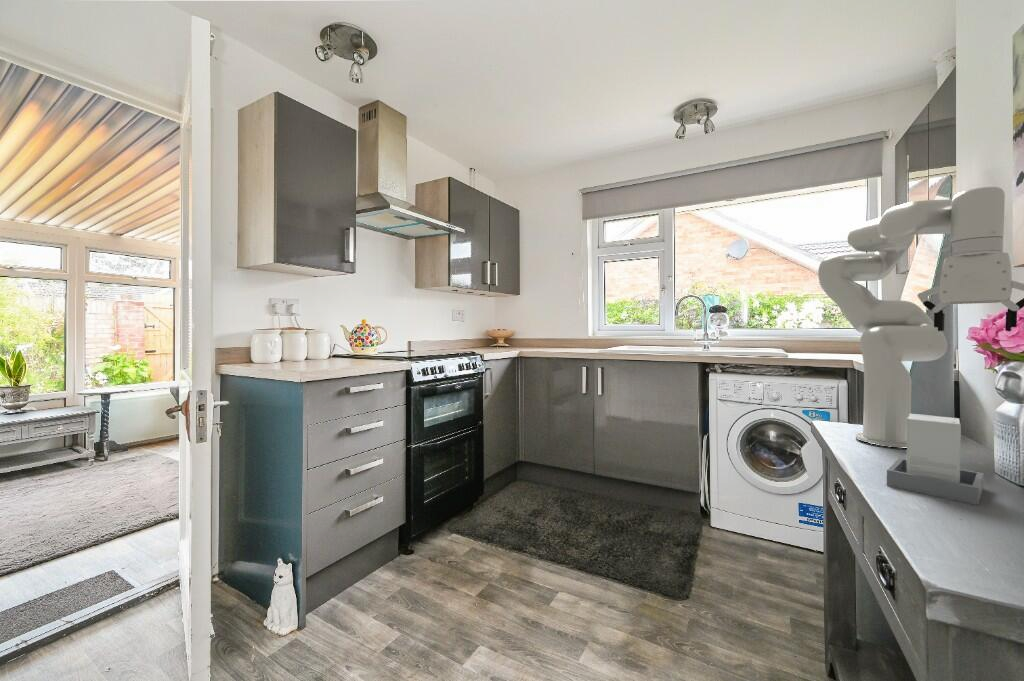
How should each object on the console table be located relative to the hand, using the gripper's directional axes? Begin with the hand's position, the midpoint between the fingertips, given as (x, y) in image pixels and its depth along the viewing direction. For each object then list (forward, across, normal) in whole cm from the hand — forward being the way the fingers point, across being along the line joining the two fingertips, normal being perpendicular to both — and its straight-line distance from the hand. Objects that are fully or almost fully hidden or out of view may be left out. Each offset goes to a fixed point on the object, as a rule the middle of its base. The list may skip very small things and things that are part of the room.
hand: (973, 331), depth 89 cm
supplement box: (+30, -4, -16) cm, 34 cm away
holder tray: (+30, -4, -17) cm, 35 cm away
